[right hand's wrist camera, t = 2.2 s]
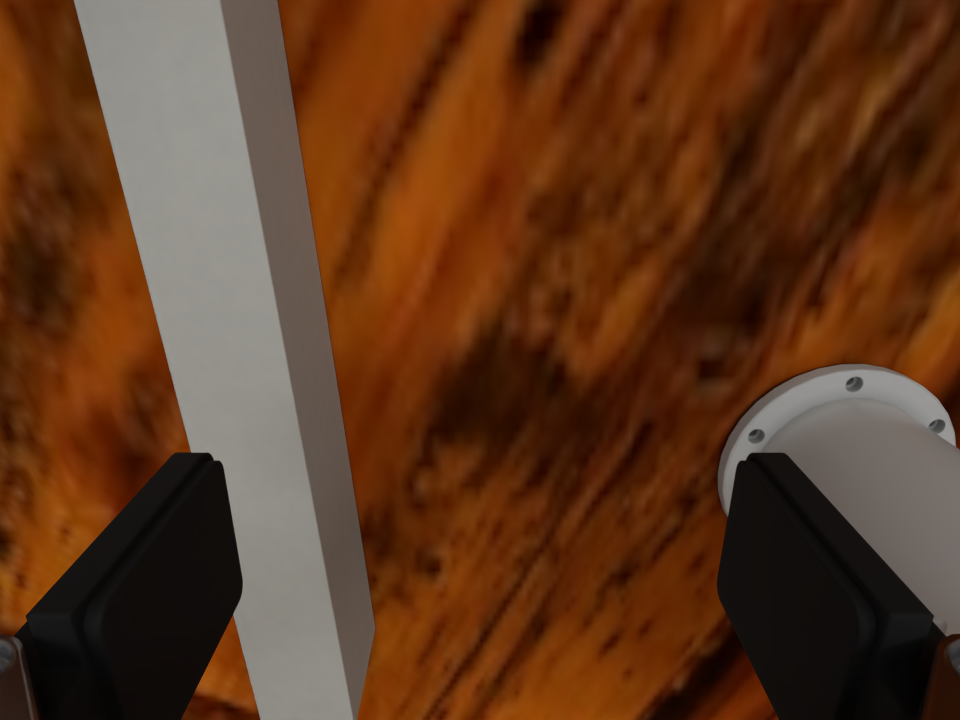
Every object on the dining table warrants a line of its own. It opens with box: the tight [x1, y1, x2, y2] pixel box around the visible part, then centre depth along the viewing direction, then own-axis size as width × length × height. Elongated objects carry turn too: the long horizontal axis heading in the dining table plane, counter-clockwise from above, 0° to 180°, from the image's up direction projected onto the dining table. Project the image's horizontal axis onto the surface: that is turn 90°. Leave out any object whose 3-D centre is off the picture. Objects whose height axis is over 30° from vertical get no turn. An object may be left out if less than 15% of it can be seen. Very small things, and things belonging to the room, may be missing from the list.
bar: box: [74, 0, 375, 720], centre depth 27 cm, size 52×5×7 cm, turn 3°
